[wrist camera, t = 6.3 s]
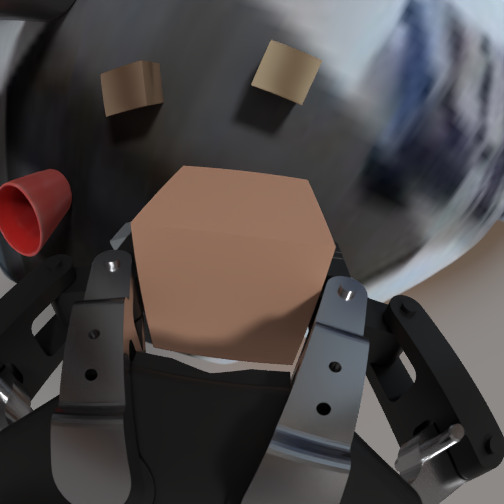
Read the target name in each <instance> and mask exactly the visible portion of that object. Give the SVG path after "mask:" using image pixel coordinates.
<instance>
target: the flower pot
mask: <svg viewBox="0 0 504 504" xmlns="http://www.w3.org/2000/svg"><path fill="white" fill-rule="evenodd" d="M71 202H72V193H71V190H70V185H69V183H68V181H67V179H66V178H65V177H64V175H63V174H62V173H60V172H59V171H57V170H54V169H48V170H44V171H40V172H36V173H33V174H30V175H27V176H24V177H21V178H18V179H15V180H12V181H9V182H7V183H5V184H3V185H2V186H1V187H0V231H1V233H2V234H3V236H4V238H5V239H6V241H7V242H8V243H9V245H10V246H11V247H12V248H13V249H15V250H16V251H17V252H18V253H20V254H22V255H25V256H34V255H36V254H37V253H38V252H39V251H40V250H41V248H42V247H43V246H44V244H45V243H46V241H47V240H48V238H49V237H50V235H51V234H52V233H53V231H54V230H55V228H56V227H57V226H58V224H59V223H60V221H61V220H62V218H63V217H64V216H65V214H66V213H67V212H68V210H69V208H70V206H71Z"/></svg>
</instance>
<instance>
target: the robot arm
mask: <svg viewBox="0 0 504 504" xmlns="http://www.w3.org/2000/svg"><path fill="white" fill-rule="evenodd" d="M74 2H75V0H0V20H19V21H39V22H50V21H53V20H55V19H57V18H58V17H60V16H61V15H62V14H64V13H65V12H66V11H67V10H68V9H69V8H70V7H71V5H72V4H73V3H74ZM333 241H334V240H333ZM334 244H335V246H336V248H335V251H334V254H333V257H332V260H331V263H330V266H329V269H328V272H327V275H326V278H325V281H324V284H323V287H322V290H321V293H320V295H319V298H318V301H317V304H316V306H315V309H314V312H313V314H312V317H311V320H310V322H309V325H308V328H309V332H308V335H307V337H306V340H305V343H304V346H303V348H302V351H301V354H300V356H299V359H298V362H297V364H296V367H295V369H294V372H293V374H292V377H291V379H290V372H280V371H266V370H254V369H250V370H242V371H233V372H222V373H208V372H204V371H202V370H199V369H197V368H194V367H192V366H189V365H187V364H184V363H182V362H179V361H177V360H175V359H172V358H168V357H162V356H157V355H152V354H148V353H146V351H145V334H144V317H143V310H144V304H143V299H142V294H141V289H140V283H139V278H138V272H137V266H136V260H135V253H134V246H133V239H132V231H131V232H130V234H129V235H128V236H127V237H126V238H125V240H124V241H123V242H122V244H121V245H120V246H119V248H118V249H117V250H110V251H106V252H104V253H102V254H100V255H98V256H97V257H96V258H95V259H94V261H93V263H92V266H81V267H74V265H73V261H72V259H71V257H70V256H68V255H65V254H58V255H54V256H51V257H49V258H47V259H46V260H44V261H43V262H42V263H41V264H39V265H38V266H37V267H36V268H35V269H33V270H32V271H31V272H30V273H29V274H27V275H26V276H25V277H24V278H23V279H22V280H21V281H19V282H18V283H17V284H16V285H15V286H14V287H13V288H12V289H11V290H10V291H8V292H7V293H6V294H5V295H4V296H3V297H2V298H1V299H0V504H439V503H440V502H441V501H443V500H444V499H445V498H446V497H448V496H449V495H450V494H452V493H453V492H454V491H455V490H456V489H458V488H459V487H460V486H461V485H462V484H463V483H465V482H468V481H470V480H472V479H474V478H476V477H478V476H480V475H482V474H484V473H486V472H488V471H490V470H492V469H494V468H496V467H497V466H498V465H499V464H500V463H501V462H502V459H503V457H504V437H503V435H502V432H501V430H500V428H499V426H498V424H497V422H496V420H495V418H494V417H493V415H492V413H491V411H490V409H489V407H488V406H487V404H486V402H485V400H484V398H483V397H482V395H481V393H480V391H479V390H478V388H477V386H476V385H475V383H474V382H473V380H472V378H471V377H470V375H469V373H468V372H467V370H466V369H465V367H464V365H463V364H462V362H461V361H460V359H459V358H458V356H457V355H456V353H455V352H454V351H453V349H452V347H451V346H450V344H449V343H448V342H447V340H446V339H445V337H444V336H443V335H442V333H441V332H440V331H439V329H438V328H437V326H436V325H435V324H434V322H433V321H432V319H431V318H430V317H429V315H428V314H427V313H426V312H425V310H424V309H423V308H422V306H421V305H420V304H419V303H418V302H417V301H415V300H414V299H412V298H410V297H408V296H404V295H397V296H394V297H393V298H392V299H391V300H390V302H389V304H388V305H387V304H384V303H381V302H378V301H375V300H372V299H370V298H368V297H367V291H366V289H365V288H364V286H363V285H362V284H360V283H359V282H358V281H356V280H354V279H352V278H351V277H350V274H349V271H348V269H347V266H346V264H345V261H344V259H343V256H342V253H341V251H340V248H339V246H338V244H337V243H336V242H335V241H334ZM50 303H51V304H52V307H53V309H54V311H55V313H56V314H55V315H54V316H53V317H52V318H51V319H50V320H49V321H48V322H47V324H46V325H45V326H44V327H43V328H42V329H41V330H40V331H39V332H38V333H37V334H36V335H35V336H34V335H33V334H32V330H31V327H32V323H33V321H34V320H35V318H36V317H37V316H38V315H39V314H40V313H41V312H42V311H43V310H44V309H45V308H46V307H47V306H48V305H49V304H50ZM403 351H404V352H405V354H406V355H407V357H408V359H409V360H410V362H411V364H412V365H413V367H414V369H415V371H416V380H415V383H414V382H413V381H412V379H411V377H410V375H409V374H408V372H407V370H406V368H405V367H404V365H403V363H402V361H401V360H400V358H399V356H400V354H401V353H402V352H403ZM62 360H63V364H62V373H61V383H60V394H59V395H58V396H56V397H55V398H53V399H51V400H50V401H48V402H47V403H45V404H43V405H42V406H40V407H39V408H37V409H35V410H34V411H33V409H32V408H31V407H30V405H31V400H32V399H33V397H34V396H35V395H36V393H37V392H38V391H39V389H40V388H41V387H42V385H43V384H44V383H45V381H46V380H47V379H48V378H49V376H50V375H51V374H52V372H53V371H54V370H55V369H56V368H57V366H58V365H59V364H60V362H61V361H62ZM365 374H366V376H367V378H368V380H369V382H370V384H371V386H372V388H373V390H374V392H375V394H376V397H377V398H378V401H379V403H380V405H381V407H382V409H383V411H384V413H385V415H386V417H387V420H388V422H389V424H390V426H391V428H392V431H393V433H394V435H395V437H396V439H397V441H398V444H399V446H400V450H399V453H398V459H397V460H396V461H395V468H396V470H397V471H399V472H400V475H399V474H398V473H397V472H396V471H395V470H393V468H391V467H390V466H389V465H388V464H387V463H386V462H385V461H384V460H383V459H382V458H381V457H380V456H379V455H378V454H377V453H376V452H375V451H374V450H373V449H372V448H371V447H370V446H368V444H367V443H366V442H365V441H364V440H363V439H362V438H361V437H359V435H358V434H357V433H356V432H355V431H354V430H355V427H356V422H357V418H358V413H359V408H360V403H361V397H362V391H363V386H364V380H365Z"/></svg>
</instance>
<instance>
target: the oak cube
mask: <svg viewBox="0 0 504 504" xmlns="http://www.w3.org/2000/svg"><path fill="white" fill-rule="evenodd" d="M321 63H322V60H320V59H318V58H315V57H313V56H311V55H309V54H306V53H304V52H302V51H299V50H297V49H294V48H292V47H289V46H287V45H284V44H281V43H279V42H276V41H273V40H271V41H270V44H269V46H268V48H267V50H266V52H265V54H264V57H263V59H262V61H261V63H260V66H259V68H258V70H257V72H256V75H255V77H254V79H253V82H252V84H251V85H252V86H253V87H256V88H259V89H262V90H264V91H267V92H270V93H272V94H275V95H277V96H280V97H282V98H285V99H287V100H290V101H292V102H295V103H297V104H300V105H302V104H303V102H304V99H305V97H306V95H307V93H308V91H309V88H310V86H311V84H312V82H313V80H314V78H315V75H316V73H317V71H318V69H319V67H320V65H321Z"/></svg>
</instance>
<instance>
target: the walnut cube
mask: <svg viewBox="0 0 504 504" xmlns="http://www.w3.org/2000/svg"><path fill="white" fill-rule="evenodd" d="M100 75H101V84H102V92H103V100H104V107H105V113H106V117H107V116H110V115H114V114H118V113H122V112H127V111H130V110H134V109H138V108H142V107H146V106H151V105H155V104H160V103H164V100H163V92H162V83H161V74H160V65H159V63H154V62H149V61H143V60H141V61H138V62H134V63H131V64H128V65H125V66H122V67H119V68H116V69H113V70H110V71H108V72H105V73H102V74H100Z"/></svg>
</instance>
